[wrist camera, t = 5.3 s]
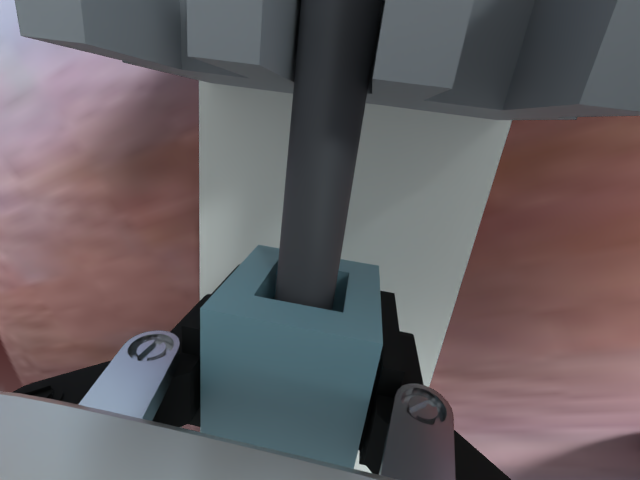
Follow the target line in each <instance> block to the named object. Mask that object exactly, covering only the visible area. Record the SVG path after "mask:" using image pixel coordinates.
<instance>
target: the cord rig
mask: <svg viewBox="0 0 640 480" xmlns="http://www.w3.org/2000/svg"><path fill="white" fill-rule="evenodd" d="M15 4H16V10H17V16H18V22H19V28H20V34H21V36H24V37H28V38H32V39H36V40H40V41H44V42H48V43H53V44H57V45H61V46H65V47H69V48H73V49H77V50H81V51H85V52H90V53H94V54H98V55H102V56H106V57H110V58H114V59H118V60H122V62H124V63H128V64H132V65H136V66H141V67H145V68H149V69H153V70H158V71H162V72H166V73H170V74H175V75H179V76H183V77H187V78H191V79H196V80H199V236H200V300H201V299H202V298H203V297H204V296H205V295H207V294H212V293H213V291H214V290H215V289H216V288H217V287H218V286H219V285H220V284H221V283H222V282H223V281H224V280H225V278H226V277H227V276H228V275H229V274H230V273H231V272H232V271H233V270H234V269H235V268H236V267H237V266H238V265H239V264H241V263H242V262H243V261H244V260H245V259H246V258H247V257H248V255H249V254H250V253H251V252H252V251H253V250H254V249H255V248H256V247H257V246H258V245H263V246H269V247H275V248H279V259H278V270H277V281H276V293H275V300H280V301H285V302H290V303H295V304H301V305H306V306H311V307H316V308H322V309H327V310H332V308H333V302H334V296H335V290H336V283H337V277H338V271H339V265H340V259H343V260H349V261H355V262H360V263H366V264H372V265H378V266H379V276H380V291H385V292H391V293H394V294H395V300H396V308H397V316H398V323H399V331H402V332H407V333H412V334H413V335H414V339H415V344H416V349H417V354H418V359H419V364H420V369H421V374H422V379H423V384H424V385H425V386H427V387H429V385H430V382H431V379H432V376H433V373H434V369H435V366H436V363H437V360H438V357H439V353H440V350H441V347H442V344H443V341H444V337H445V334H446V331H447V328H448V324H449V321H450V318H451V315H452V312H453V308H454V305H455V302H456V299H457V296H458V292H459V289H460V286H461V283H462V280H463V276H464V273H465V270H466V267H467V264H468V260H469V257H470V254H471V251H472V247H473V244H474V241H475V238H476V235H477V231H478V228H479V225H480V222H481V219H482V215H483V212H484V209H485V206H486V203H487V199H488V196H489V193H490V190H491V187H492V183H493V180H494V177H495V174H496V170H497V167H498V164H499V161H500V158H501V154H502V151H503V148H504V145H505V142H506V138H507V135H508V132H509V129H510V126H511V122H512V120H576V119H577V117H597V116H640V0H15ZM200 432H201V427H200ZM354 469H356V470H360V471H365V472H369V473H372V472H371V471H370V470H369V469H368V467H367V466H366V465H361V464H359V450H358V453H357V457H356V461H355V466H354Z"/></svg>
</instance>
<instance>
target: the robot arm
mask: <svg viewBox="0 0 640 480" xmlns="http://www.w3.org/2000/svg"><path fill="white" fill-rule="evenodd" d="M239 265H240V264H239ZM239 265H238V266H239ZM238 266H237V267H238ZM237 267H236V268H235V269H234V270H233V271H232V272H231V273H230V274H229V275H228V276H227V277H226V278H225V280H224V281H223V282H222V283H221V284H220V285H219V286H218V287H217V288H216V289H215V290H214V291H213V293H212V294H207V295H205V296H204V297H203V298H202V299H201V300H200V301H199V302H198V303H197V304H196V306H195V307H194V308H193V309H192V310H191V311H190V312H189V313H188V314H187V315H186V316H185V317H184V318H183V319H182V320H181V321H180V322H179V323H178V324H177V325H176V327H175V328H174V329H173V330H172V331H171V332H167V331H149V332H144V333H141V334H139V335H136V336H134V337H133V338H131V339H129V340H128V341H127V342H126V343H125V344H124V345H123V347H122V348H121V349H120V350H119V352H118V353H117V354H116V356H115V357H114V358H113V360H112V361H108V362H105V363H101V364H98V365H94V366H90V367H87V368H83V369H80V370H76V371H73V372H69V373H66V374H62V375H59V376H55V377H52V378H48V379H45V380H41V381H38V382H34V383H31V384H29V385H26V386H23V387H21V388H20V389H18V390H16V391H14V392H2V391H0V480H511V479H510V478H509V477H508V476H506V475H505V474H504V473H503V472H502V471H501V470H500V469H498V468H497V467H496V466H495V465H494V464H493V463H492V462H490V461H489V460H488V459H487V458H486V457H485V456H484V455H482V454H481V453H480V452H479V451H478V450H477V449H476V448H474V447H473V446H472V445H471V444H470V443H469V442H468V441H466V440H465V439H464V438H463V437H462V436H461V435H460V434H458V433H457V432H456V431H455V430H454V419H453V412H452V408H451V406H450V405H449V403H448V401H447V400H446V399H445V398H444V397H443V396H442V395H441V394H439V393H438V392H437V391H435V390H434V389H432V388H429V387H427V386H425V385H424V384H423V379H422V374H421V369H420V364H419V359H418V354H417V349H416V344H415V339H414V335H413V334H412V333H407V332H402V331H399V323H398V316H397V308H396V300H395V294H394V293H391V292H385V291H380V295H381V315H382V334H383V346H382V351H381V355H380V359H379V363H378V368H377V372H376V376H375V380H374V385H373V389H372V393H371V398H370V402H369V406H368V410H367V415H366V419H365V423H364V427H363V432H362V436H361V440H360V444H359V449H358V450H359V464H361V465H366V466H367V467H368V469H369V470H370V471H371V472H372V473H369V472H365V471H360V470H356V469H352V468H348V467H344V466H340V465H336V464H332V463H328V462H323V461H319V460H315V459H311V458H307V457H303V456H299V455H294V454H290V453H286V452H282V451H278V450H273V449H269V448H265V447H261V446H256V445H252V444H248V443H244V442H240V441H235V440H231V439H227V438H223V437H218V436H214V435H210V434H206V433H201V432H197V431H193V430H188V429H184V428H182V426H184V425H186V424H191V425H195V426H199V427H201V406H200V308H201V307H202V306H203V305H204V304H205V302H206V301H207V300H208V299H209V298H210V297H211V296H212V295H213V294H214V293H215V292H216V290H217V289H218V288H219V287H220V286H221V285H222V284H223V283H224V282H225V281H226V279H227V278H228V277H229V276H230V275H231V274H232V273H233V272H234V271H235V270H236V269H237Z"/></svg>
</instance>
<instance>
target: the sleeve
mask: <svg viewBox="0 0 640 480" xmlns="http://www.w3.org/2000/svg"><path fill="white" fill-rule="evenodd" d="M278 259H279V248H275V247H269V246H263V245H258V246H257V247H256V248H255V249H254V250H253V251H252V252H251V253H250V254H249V255H248V257H247V258H246V259H245V260H244V261H243V262H242V263H241V264H240V265H239V266H238V267H237V269H236V270H235V271H234V272H233V273H232V274H231V275H230V276H229V277H228V278H227V279H226V281H225V282H224V283H223V284H222V285H221V286H220V287H219V288H218V289H217V290H216V292H215V293H214V294H213V295H212V296H211V297H210V298H209V299H208V300H207V301H206V302H205V304H204V305H203V306H202V307H201V308H200V406H201V433H206V434H210V435H214V436H218V437H223V438H227V439H231V440H235V441H240V442H244V443H248V444H252V445H256V446H261V447H265V448H269V449H273V450H278V451H282V452H286V453H290V454H294V455H299V456H303V457H307V458H311V459H315V460H319V461H323V462H328V463H332V464H336V465H340V466H344V467H348V468H352V469H354V466H355V461H356V457H357V453H358V449H359V444H360V440H361V436H362V432H363V427H364V423H365V419H366V415H367V410H368V406H369V402H370V398H371V393H372V389H373V385H374V380H375V376H376V372H377V368H378V363H379V359H380V355H381V351H382V346H383V334H382V315H381V295H380V276H379V266H378V265H372V264H366V263H360V262H355V261H349V260H343V259H340V265H339V271H338V277H337V283H336V290H335V296H334V302H333V308H332V310H327V309H322V308H316V307H311V306H306V305H301V304H295V303H290V302H285V301H280V300H275V293H276V281H277V270H278Z"/></svg>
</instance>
